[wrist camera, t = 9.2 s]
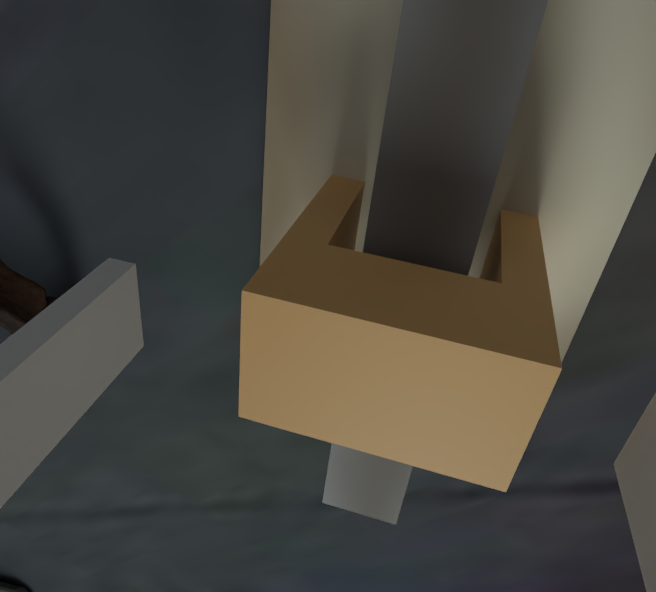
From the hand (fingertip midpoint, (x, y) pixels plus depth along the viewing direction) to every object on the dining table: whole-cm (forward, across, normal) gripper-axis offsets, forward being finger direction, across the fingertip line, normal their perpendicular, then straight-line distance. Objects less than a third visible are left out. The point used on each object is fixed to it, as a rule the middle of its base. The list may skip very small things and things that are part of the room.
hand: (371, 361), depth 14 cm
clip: (+7, +1, 0) cm, 7 cm away
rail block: (+8, +1, 0) cm, 8 cm away
